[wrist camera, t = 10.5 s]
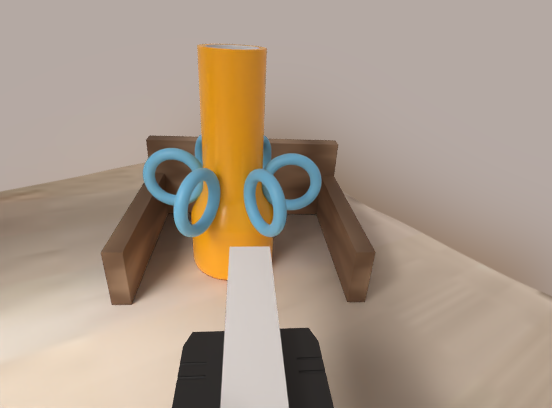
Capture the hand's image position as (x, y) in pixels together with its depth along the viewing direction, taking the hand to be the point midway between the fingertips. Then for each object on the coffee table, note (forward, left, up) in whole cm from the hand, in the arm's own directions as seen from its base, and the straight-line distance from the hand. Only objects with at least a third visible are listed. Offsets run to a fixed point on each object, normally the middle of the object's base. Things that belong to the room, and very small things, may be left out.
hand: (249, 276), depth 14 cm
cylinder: (-8, +8, -8) cm, 14 cm away
